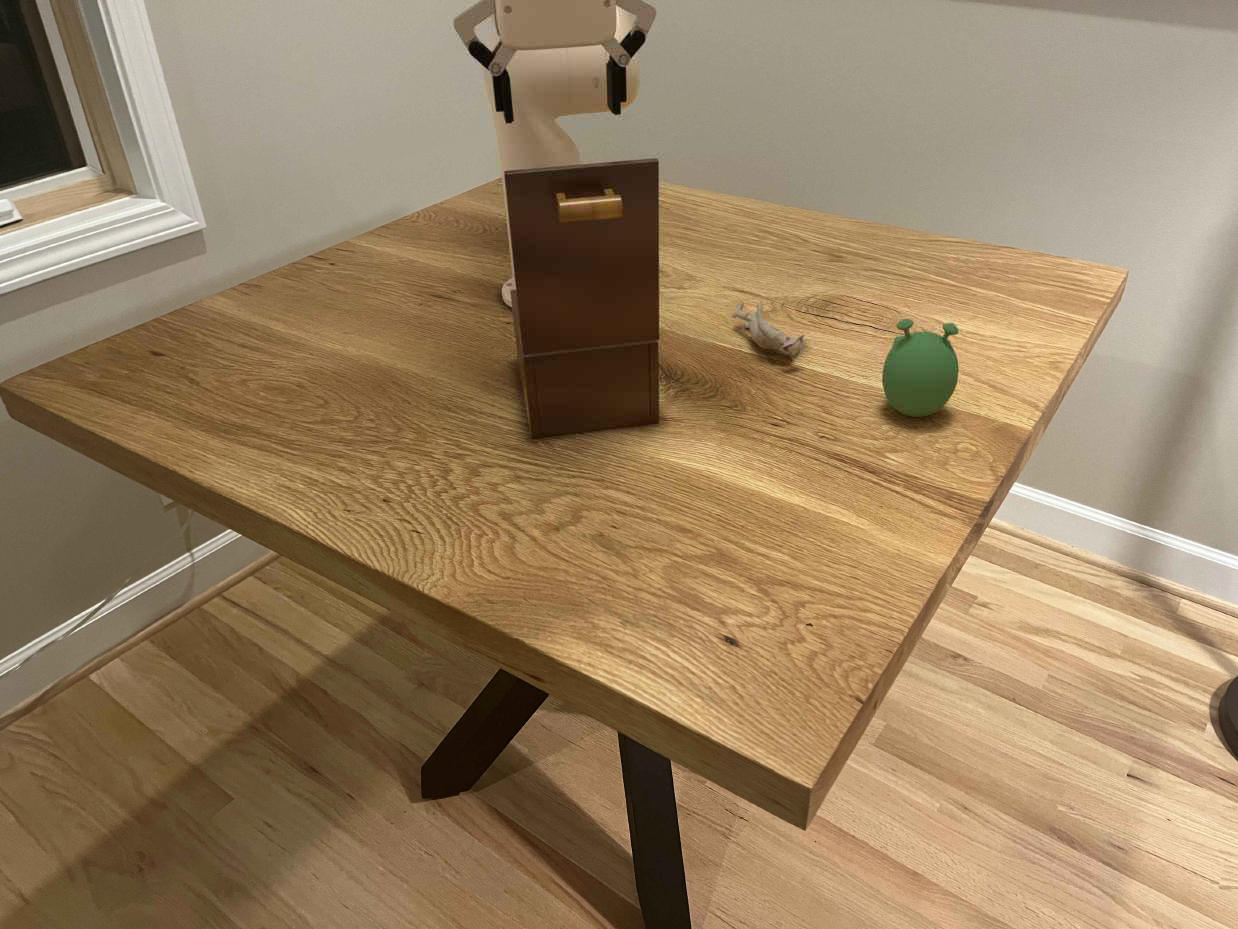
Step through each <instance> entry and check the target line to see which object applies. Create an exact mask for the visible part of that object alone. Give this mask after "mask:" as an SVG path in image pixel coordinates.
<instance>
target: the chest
mask: <svg viewBox="0 0 1238 929" xmlns="http://www.w3.org/2000/svg"><path fill="white" fill-rule="evenodd" d="M510 293H511V302H512V308H511V309H512V310H511V311H512V320H513V330H514V338H515V347H516V357H517V365H518V371H519V374H520V375H519V376H520V382H521V387H522V392H523V393H522V394H523V398H524V404H525V410H526V415H527V420H528V427H529V431H530V438H531V439H535V438H536V439H537V438H544V437H552V436H561V435H570V434H577V433H586V432H592V431H594V432H595V431H602V430H611V429H617V428H626V427H636V426H643V425H651V424H658V423H660V386H659V385H660V372H659V371H660V370H659V367H660V366H659V365H660V360H659V355H660V354H659V353H660V352H659V340H656V341H647V342H638V343H629V344H620V345H610V346H601V347H592V348H583V349H574V350H565V351H556V352H547V353H538V354H529V355H523V352H522V343H521V334H520V324H519V314H518V305H517V295H516V290H510Z"/></svg>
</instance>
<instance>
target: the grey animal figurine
mask: <svg viewBox="0 0 1238 929" xmlns="http://www.w3.org/2000/svg"><path fill="white" fill-rule="evenodd" d="M744 306H745V303H744V302H743V301H739V302H738V303H737V304H736V306H735V310H734V311H732V313H731V316H730V317H731V318H735V319H736V318H737V319H740V320H742V321H745V324H744V328H746V329H749V332H750V336H751V338H752V340H753V342H754V343H756V344H757V346H759V348H762V349H764V350H772V349H773V350H776V351H777V352H780V353H782V354H784V355H787V356H790V357H791V360H792V361H793V362H795V360H796V359H797V358H798V357H799V356H800V354H801V350H802V348H803V345H804V341H805V339H804V337H805V335H804V334H801V335H797V336H796V337H792V336H789V335H788V334H787V333H786V332H784V331H783V330H781V329H779V328H777V327H775V326H772V325H771V324H770V323H768V322H766V321H765V318H764V315H763V310H764V300H763V299H758V300H757V301H756V312H755V311H743V309H744Z"/></svg>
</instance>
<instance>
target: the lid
mask: <svg viewBox="0 0 1238 929" xmlns="http://www.w3.org/2000/svg"><path fill="white" fill-rule="evenodd" d="M659 168H660V161H659V160H658V158H657V157H654V158H653V157H652V158H642V159H629V160H617V161H605V162H594V163H581V165H569V166H557V167H545V168H534V169H522V170H510V171H504V179H505V189H506V198H507V208H508V218H509V227H510V237H511V247H512V256H513V266H514V276H515V285H516V295H517V305H518V314H519V324H520V334H521V343H522V352H523V355H529V354H538V353H547V352H556V351H565V350H574V349H583V348H592V347H601V346H610V345H620V344H629V343H638V342H647V341H656V340H657V341H660V169H659Z"/></svg>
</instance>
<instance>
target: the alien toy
mask: <svg viewBox="0 0 1238 929" xmlns="http://www.w3.org/2000/svg"><path fill="white" fill-rule="evenodd" d="M913 326H914V321H913V320H912V319H909V318H902V319H900V321H898V322H897V324H896V329H898V330H899V331H902V332H903V333H904V335H898V336H897V335H896V336H895V338H894V340H893V343H892V346H891V349H890V350H889V352H888V353H887V355H886V358H885V360H884V364H883V368H882V374H881V383H882V388H883V392H884V395H885V397H886V399H887V401H888V402H889V404H890V405H891V406H892V407H893V409H894V410H896V411H897V412H899V413H900V414H903V415H904V416H908V417H913V418H921V417H927V416H930V415H933V414H935V413H937V412H938V411H940V410H941V409H942V408H944V406H945V405H947V403H948V402H949V400H950V399H951V398H952V396H953V395H954V393H955V390H956V388H957V384H958V380H959V369H960V368H959V360H958V355H957V353H956V351H955V349H954V347H953V346H952V344H951V340H950V339H948V338H949V337H950V336H956V335H958V334H959V332H960V331H959V329H958V328H959V327H957V325H956V324H955V323H953V322H946V323H944V324H942V328H943V329H942V330H943V331H944V334H943V335H942V336H941V335H940V334H938V333H935V332H930V331H914V332H910V329H911V328H912V327H913Z"/></svg>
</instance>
